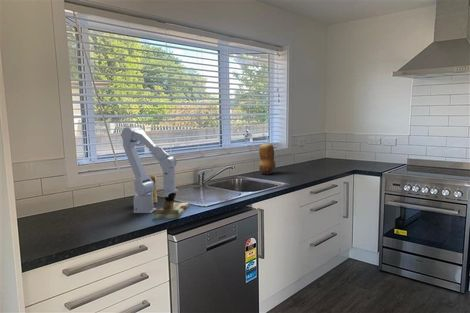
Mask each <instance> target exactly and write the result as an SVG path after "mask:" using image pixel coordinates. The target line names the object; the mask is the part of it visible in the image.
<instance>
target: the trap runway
mask: <svg viewBox="0 0 470 313" xmlns="http://www.w3.org/2000/svg"><path fill="white" fill-rule="evenodd" d="M173 205H174V209H173V210H163V208H159V209H156V210H154V211H153V219H180V217H181V216H182V215H183V214H184V212H185V211H186V210H187V209H188V208H189V207H190V206H189V205H190V203H189V202H174V204H173Z"/></svg>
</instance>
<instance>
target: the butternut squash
mask: <svg viewBox="0 0 470 313" xmlns="http://www.w3.org/2000/svg"><path fill="white" fill-rule="evenodd" d="M274 148H275V147H274V145H273V144H272V143H270V142H269V143H263V144H260V145H259V148H258V151H259V152H258V154H259V157H260V158H259V159H260V160H259V164H258V169H259V171H260V172H261V173H263V174H264V175H271V174H272V173H273V171H274V170H275V169H276V162H275V149H274Z"/></svg>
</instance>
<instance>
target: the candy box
mask: <svg viewBox="0 0 470 313" xmlns="http://www.w3.org/2000/svg"><path fill="white" fill-rule="evenodd" d="M148 176H149V177H151V180H152V181H153V182H154V183H155V189H154V191H153V204H155V203H156V204H157V202H158V196H157V195H158V194H157V193H158V192H157V191H158V190H157V176H156V175H148Z"/></svg>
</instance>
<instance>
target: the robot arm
mask: <svg viewBox="0 0 470 313" xmlns="http://www.w3.org/2000/svg"><path fill="white" fill-rule="evenodd" d="M120 136H121V139H122V148H123V150H124V153H125V155H126V157H127V160H128V163H129V165H130V167H131V169H132V172H133V175H134V177H135V180H134V182H133V185H134V191H135V193H136V194H135V195H134V196H133V201H132V202H133V214H152V213H154V210H157V208H156V207H154V203H153V191H154V189H155V183H154V182H153V181H152V180H151V177H149V176H150V175H148V174H147V173H146V170H145V168H144V166H143V163H142V161H141V158H140V156H139V153H138V151H137V148H136V145H137V143H138V142H140V143H142V144H143V145H144V146H145V147H146V148H147V149H148V150H149V151H150V152H151V153H150V155H151V156H152V157H153V158H155V159H156V160H157V161H158V163H159V166H160V167H161V170H162V175H163V176H162V180H163V191H162V192H163V195H162V196H163V198H164V200H165V201H173V204H174V203H175V198H176V195H177V192H178V188H177V189H176V173H175V172H176V170H175V167H176V166H177V160H176V158H175V157H174V156H171V155H170V154H169V153H167V152H166V151H165V150H164V147H162V146H159V145H157V146H156V144H155V143H154V142H153V140H151V138H150V137H149V136H148V135H147V134H146V132H145V130H144V129H142V127H140V126H133V127H130V126H129V127H124V128H123V129H122V131H121V133H120Z"/></svg>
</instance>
